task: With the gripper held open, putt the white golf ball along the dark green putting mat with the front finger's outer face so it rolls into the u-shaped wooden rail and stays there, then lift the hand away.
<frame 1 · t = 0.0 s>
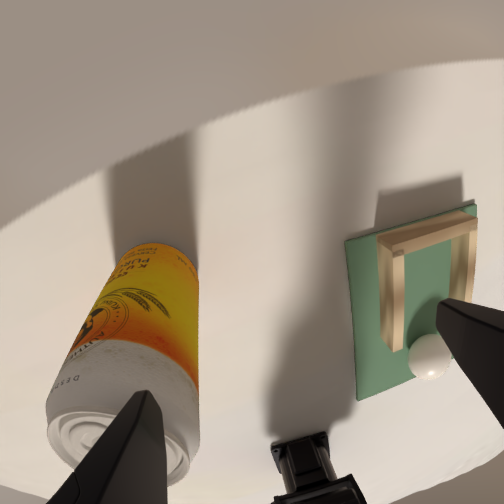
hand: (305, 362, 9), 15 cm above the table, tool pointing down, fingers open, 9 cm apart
orange cylindrical container: (157, 278, 23), on the table
putting mat: (418, 310, 28), on the table
u-shaped wooden rail: (419, 268, 26), resting on putting mat
golf ball: (429, 356, 27), point 3 cm above the table, touching putting mat
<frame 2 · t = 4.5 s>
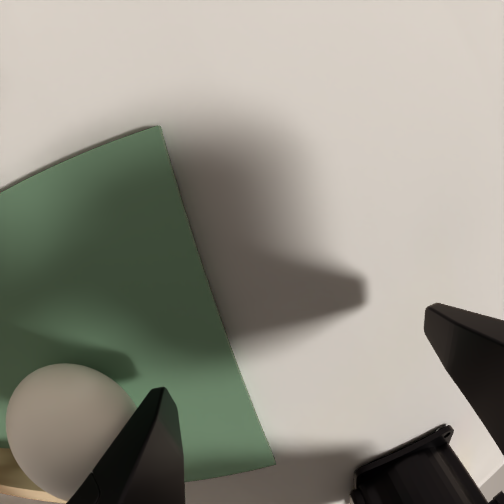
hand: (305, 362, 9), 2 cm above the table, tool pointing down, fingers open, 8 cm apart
putting mat: (21, 390, 10), on the table
golf ball: (75, 434, 7), point 3 cm above the table, touching gripper, putting mat
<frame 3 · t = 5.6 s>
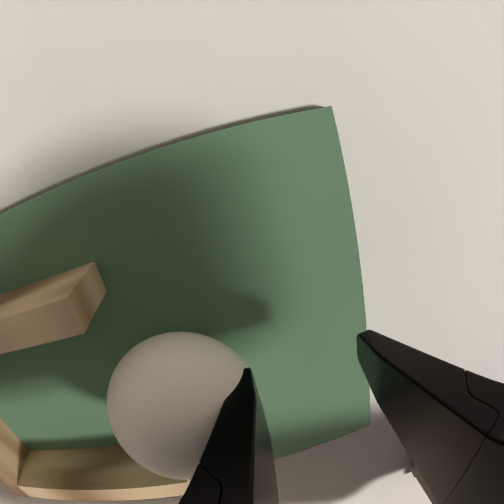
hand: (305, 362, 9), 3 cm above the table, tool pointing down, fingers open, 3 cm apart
putting mat: (126, 374, 11), on the table
u-shaped wooden rail: (38, 390, 10), resting on putting mat
golf ball: (183, 406, 8), point 3 cm above the table, tilted 42°, touching gripper, putting mat
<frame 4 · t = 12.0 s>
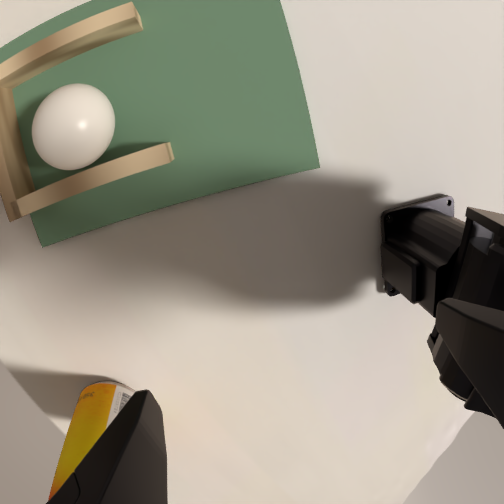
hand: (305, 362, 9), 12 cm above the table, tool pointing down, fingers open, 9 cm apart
orange cylindrical container: (116, 400, 23), on the table
putting mat: (139, 90, 16), on the table
u-shaped wooden rail: (69, 116, 16), resting on putting mat
golf ball: (73, 126, 14), point 3 cm above the table, tilted 149°, touching putting mat
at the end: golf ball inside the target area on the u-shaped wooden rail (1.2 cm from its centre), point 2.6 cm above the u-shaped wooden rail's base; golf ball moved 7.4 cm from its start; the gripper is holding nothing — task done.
